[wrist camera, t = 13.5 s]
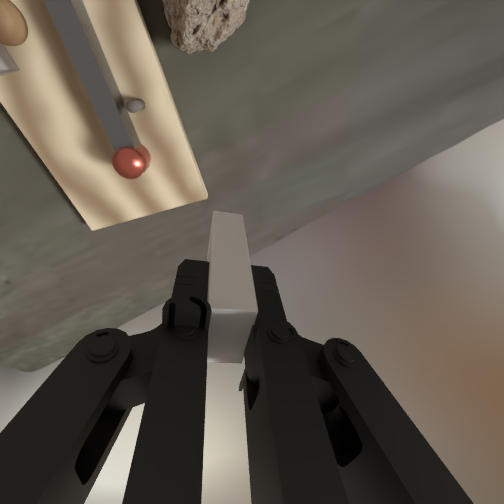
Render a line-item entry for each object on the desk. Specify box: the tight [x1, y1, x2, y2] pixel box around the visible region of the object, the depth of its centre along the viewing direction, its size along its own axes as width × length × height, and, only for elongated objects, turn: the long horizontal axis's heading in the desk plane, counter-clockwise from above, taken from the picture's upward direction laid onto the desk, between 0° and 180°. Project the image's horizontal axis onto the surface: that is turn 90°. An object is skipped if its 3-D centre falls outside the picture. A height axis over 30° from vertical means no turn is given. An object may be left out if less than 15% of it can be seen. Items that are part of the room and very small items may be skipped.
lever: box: [43, 0, 151, 179], centre depth 29 cm, size 4×18×4 cm, turn 10°
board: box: [0, 0, 208, 231], centre depth 30 cm, size 19×30×7 cm, turn 14°
